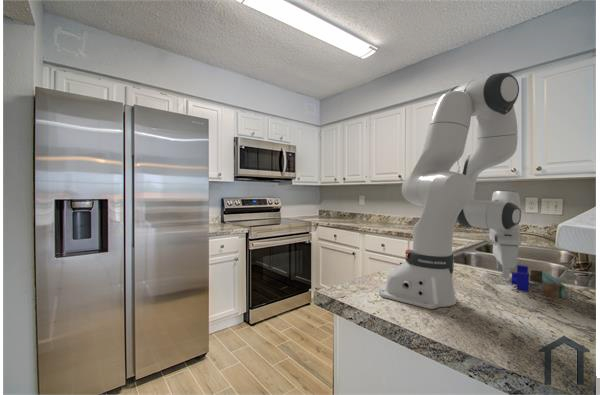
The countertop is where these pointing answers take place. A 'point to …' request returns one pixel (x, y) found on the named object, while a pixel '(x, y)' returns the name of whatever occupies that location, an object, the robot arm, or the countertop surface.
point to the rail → (548, 283)
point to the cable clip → (521, 278)
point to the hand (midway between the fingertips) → (502, 273)
